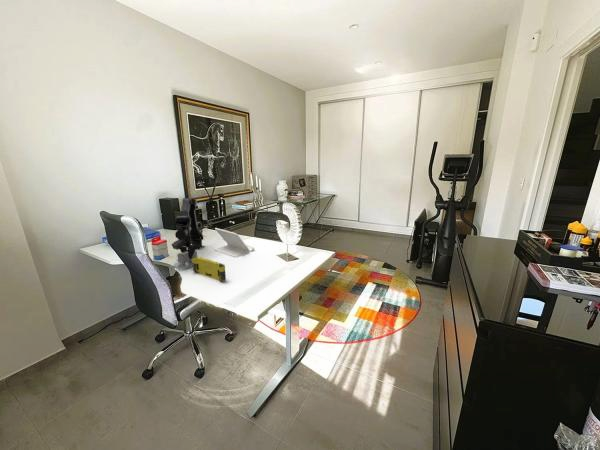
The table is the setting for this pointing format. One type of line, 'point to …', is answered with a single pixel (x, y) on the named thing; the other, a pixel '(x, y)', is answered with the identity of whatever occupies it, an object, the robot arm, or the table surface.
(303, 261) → the table surface
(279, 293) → the table surface
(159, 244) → the ink box
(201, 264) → the gaming console
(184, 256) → the drive
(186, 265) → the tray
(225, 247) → the tablet stand
